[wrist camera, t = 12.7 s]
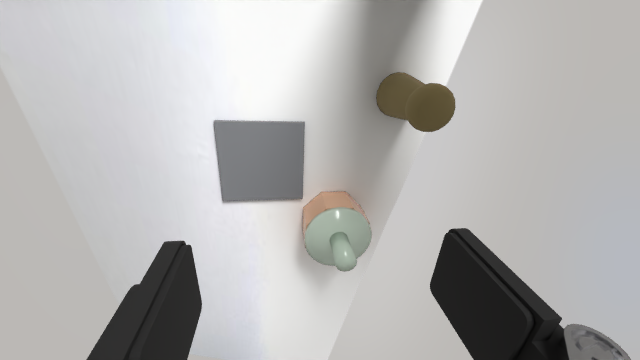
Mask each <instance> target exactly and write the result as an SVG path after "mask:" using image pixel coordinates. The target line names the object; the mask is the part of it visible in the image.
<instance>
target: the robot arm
mask: <svg viewBox="0 0 640 360" xmlns="http://www.w3.org/2000/svg"><path fill="white" fill-rule="evenodd" d="M430 289H431V292H432V294H433V296H434V297H435V299H436V301H437V302H438V304H439V305H440V307H441V309H442V310H443V312H444V313H445V315H446V316H447V318H448V320H449V321H450V323H451V324H452V326H453V328H454V329H455V331H456V332H457V334H458V336H459V337H460V339H461V340H462V342H463V343H464V345H465V347H466V348H467V349H468V351H469V353H470V355H471V356H472V358H473V359H474V360H631V359H630V357H629V356H628V354H627V353H626V352H625V351H624V350H623V349H622V348H621V347H620V346H619V345H618V344H617V343H615V342H614V341H613V340H612V339H610V338H609V337H607V336H605V335H604V334H602V333H600V332H598V331H596V330H594V329H592V328H590V327H587V326H583V325H579V324H570V325H567V326H566V327H565V328H564V329H563V328H562V327H561V326H560V325H559V323H560V321H561V320H562V318H561V317H560V316H559V315H558V314H557V313H556V312H555V311H554V310H552V308H550V306H548V305H547V304H546V303H545V302H544V301H543V300H542V299H541V298H540V297H539V296H538V295H537V294H536V293H535V292H534V291H533V290H532V289H530V288H529V287H528V286H527V285H526V284H525V283H524V282H523V281H522V280H521V279H520V278H519V277H518V276H517V275H516V274H515V273H514V272H513V271H512V270H511V269H510V268H508V267H507V266H506V265H505V264H504V263H503V262H502V261H501V260H500V259H499V258H498V257H497V256H496V255H495V254H494V253H493V252H492V251H490V249H488V248H487V247H486V246H485V245H484V244H483V243H482V242H481V241H480V240H479V239H478V238H477V237H476V236H475V235H474V234H473V233H471V231H470V230H468V229H466V228H461V229H451V230H449V232H448V233H446V234H445V237H444V240H443V243H442V247H441V250H440V253H439V256H438V259H437V263H436V266H435V269H434V273H433V276H432V279H431V282H430ZM201 308H202V301H201V295H200V290H199V285H198V279H197V274H196V269H195V263H194V258H193V253H192V248H191V245H186V243H185V242H184V241H168V242H164V244H163V245H162V247H161V248H160V250H159V252H158V254H157V255H156V257H155V259H154V260H153V262H152V264H151V266H150V267H149V269H148V271H147V272H146V274H145V276H144V278H143V279H142V281H141V283H140V284H137V285H134V286H132V287H131V288H130V290H129V291H128V293H127V294H126V296H125V298H124V299H123V301H122V302H121V304H120V306H119V307H118V309H117V311H116V313H115V314H114V316H113V317H112V319H111V321H110V322H109V324H108V325H107V327H106V329H105V330H104V332H103V334H102V335H101V337H100V339H99V340H98V342H97V343H96V345H95V347H94V348H93V350H92V352H91V353H90V355H89V357H88V358H87V360H187V358H188V355H189V351H190V348H191V344H192V341H193V337H194V334H195V330H196V327H197V324H198V320H199V317H200V313H201Z"/></svg>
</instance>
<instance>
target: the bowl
mask: <svg viewBox="0 0 640 360" xmlns="http://www.w3.org/2000/svg"><path fill="white" fill-rule="evenodd" d="M336 207H346V208H351V209H354V210H356V211H358V212H360V213H361V214H362V215H363V216H364V217H365V218H366V220H367V221H368V219H367V217H366V216H365V214H364V212H363V210H362V208H361V206H360V205H359V204H358V203H357V202H356V201H355V200H354V199H353V198H352V197H351V196H350V195H349V194H348V193H347V192H321V193H320V194H319V195H317V196H316V197H315V198H314V199H313V200H312V201H310V202H309V203H308V204H307V205H306V206H305V207H304V208H303V235H304V242H305V231H306V228H307V226H308V225H309V223H310V222H311V220H312V219H313V218H314V217H315V216H317V215H318V214H320V213H321V212H323V211H325V210H328V209H331V208H336ZM368 223H369V221H368ZM305 248H306V246H305Z"/></svg>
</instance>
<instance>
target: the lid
mask: <svg viewBox="0 0 640 360" xmlns="http://www.w3.org/2000/svg"><path fill="white" fill-rule="evenodd" d="M370 241H371V228H370V225H369V223H368V221H367V220H366V218H365V217H364V216H363V215H362V214H361V213H360V212H358V211H356V210H354V209H351V208H346V207H336V208H331V209H328V210H325V211H323V212H321V213H320V214H318V215H317V216H315V217H314V218H313V219H312V220H311V222H310V223H309V225H308V226H307V228H306V231H305V246H306V249H307V252H308V253H309V255H310V256H311V257H312V258H313V259H314V260H316V261H317V262H319V263H321V264H325V265H331V266H336V267H337V269H338V270H340V271H350V270H352V269H353V268H354V267H355V266H356V264H357V260H356V259H357V258H358V257H360V256H361V255H362V254H363V253H364V252H365V251H366V249H367V248H368V246H369V244H370Z"/></svg>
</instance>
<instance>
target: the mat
mask: <svg viewBox="0 0 640 360" xmlns="http://www.w3.org/2000/svg"><path fill="white" fill-rule="evenodd" d="M304 128H305V123H304V122H282V121H225V120H214V129H215V138H216V146H217V155H218V164H219V172H220V181H221V190H222V198H223V201H235V200H275V199H303V164H304Z"/></svg>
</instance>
